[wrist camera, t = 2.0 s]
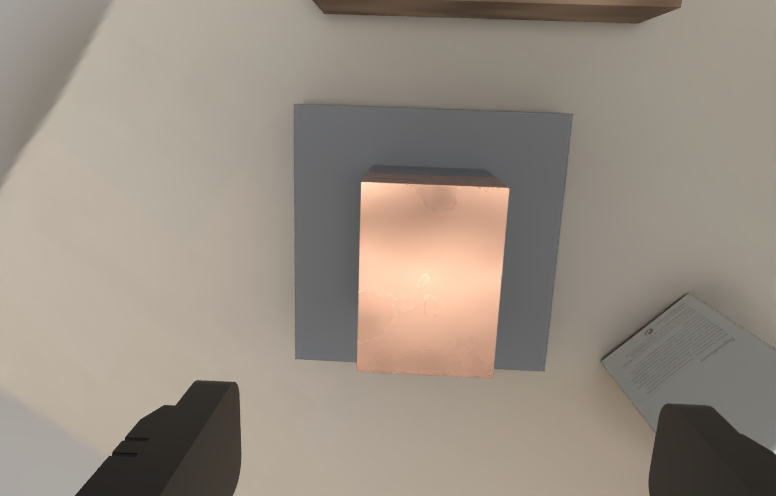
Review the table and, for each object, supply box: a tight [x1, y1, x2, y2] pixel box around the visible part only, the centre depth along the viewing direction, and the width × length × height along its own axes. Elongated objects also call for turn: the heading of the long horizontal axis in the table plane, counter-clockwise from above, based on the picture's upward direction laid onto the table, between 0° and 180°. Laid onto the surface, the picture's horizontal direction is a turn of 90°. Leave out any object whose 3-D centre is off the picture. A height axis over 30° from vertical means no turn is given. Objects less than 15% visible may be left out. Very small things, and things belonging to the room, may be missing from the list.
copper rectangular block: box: [357, 165, 509, 378], centre depth 23 cm, size 5×7×6 cm
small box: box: [602, 294, 776, 454], centre depth 24 cm, size 8×6×10 cm
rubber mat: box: [294, 104, 573, 371], centre depth 27 cm, size 12×12×2 cm
